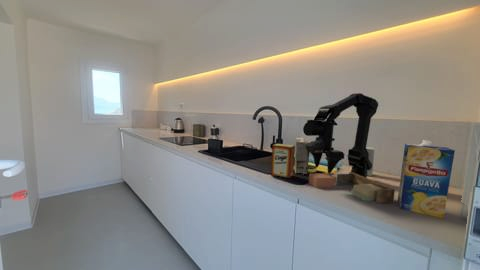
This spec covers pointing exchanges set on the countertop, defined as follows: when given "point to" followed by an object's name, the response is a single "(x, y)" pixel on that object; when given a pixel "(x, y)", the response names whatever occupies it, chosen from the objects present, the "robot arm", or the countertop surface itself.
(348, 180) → the bookend
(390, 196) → the shelf wall
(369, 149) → the skincare box
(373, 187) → the pale green block
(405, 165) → the beverage box
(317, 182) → the reddish brown block
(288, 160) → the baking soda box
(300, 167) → the grey drink carton
